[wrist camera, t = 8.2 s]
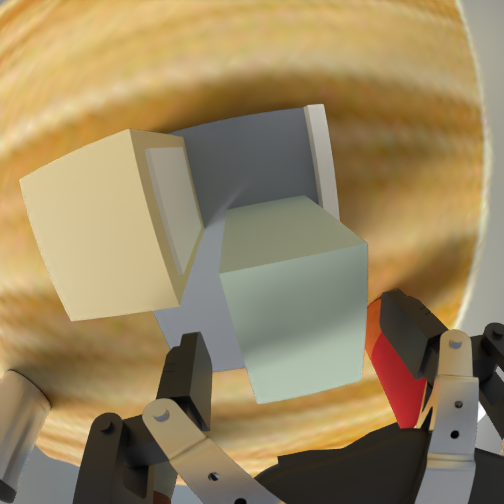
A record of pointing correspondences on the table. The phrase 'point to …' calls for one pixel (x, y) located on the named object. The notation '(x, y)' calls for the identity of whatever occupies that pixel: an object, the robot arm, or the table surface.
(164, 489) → the bottle
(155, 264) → the mustard box
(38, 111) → the table surface
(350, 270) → the tea box
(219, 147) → the display board
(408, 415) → the paper cup
